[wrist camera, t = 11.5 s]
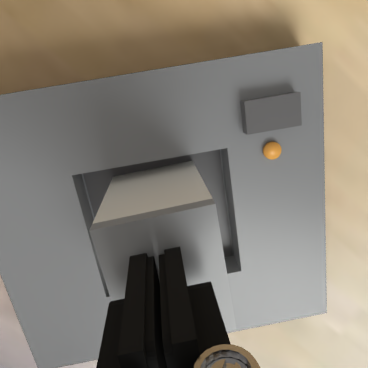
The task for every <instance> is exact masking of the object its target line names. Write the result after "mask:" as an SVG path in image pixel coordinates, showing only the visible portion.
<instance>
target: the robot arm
mask: <svg viewBox="0 0 368 368" xmlns="http://www.w3.org/2000/svg"><path fill="white" fill-rule="evenodd" d="M158 257H159V278H158V273H157V268H156V264H155V259H154V256H151V257H148V255H147V253H144V254H138V255H133V256H130V258H129V266H128V274H127V282H126V290H125V298H124V299H119V300H114V301H111V302H110V303H109V306H108V311H107V316H106V321H105V326H104V331H103V336H102V342H101V347H100V352H99V357H98V362H97V367H96V368H260V366H259V365H258V363H257V361H256V360H255V358H254V357H253V356H252V355H251V354H250V353H249V352H248V351H246V350H245V349H243V348H242V347H239V346H236V345H231V344H230V341H229V338H228V335H227V331H226V328H225V325H224V322H223V318H222V315H221V312H220V309H219V306H218V302H217V299H216V296H215V293H214V289H213V286H212V283H211V281H210V282H205V283H200V284H195V285H190V286H187V282H186V276H185V271H184V265H183V260H182V254H181V249H180V247H175V248H170V249H164V254H162V255H158ZM159 279H160V282H159Z"/></svg>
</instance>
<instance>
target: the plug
mask: <svg viewBox="0 0 368 368" xmlns="http://www.w3.org/2000/svg"><path fill="white" fill-rule="evenodd" d="M89 232H90V235H91V238H92V241H93V244H94V247H95V251H96V254H97V257H98V260H99V263H100V267H101V270H102V273H103V276H104V279H105V282H106V286H107V289H108V292H109V295H110V298H111V301H114V300H119V299H124V298H125V290H126V282H127V274H128V266H129V258H130V256H133V255H138V254H144V253H147V255H148V257H151V256H154V259H155V264H156V268H157V273H158V278H159V257H158V255H162V254H164V249H170V248H175V247H180V249H181V254H182V260H183V265H184V271H185V276H186V282H187V286H190V285H195V284H200V283H205V282H210V281H211V283H212V286H213V289H214V293H215V296H216V299H217V302H218V306H219V309H220V312H221V315H222V318H223V322H224V325H225V328H226V331H227V332H228V331H232V330H237V329H236V323H235V317H234V311H233V305H232V299H231V293H230V287H229V281H228V275H227V269H226V263H225V257H224V251H223V245H222V239H221V233H220V227H219V221H218V215H217V209H216V204H215V202H214V200H213V198H212V196H211V194H210V192H209V191H208V189H207V187H206V185H205V183H204V181H203V179H202V178H201V176H200V174H199V172H198V170H197V168H196V166H195V165H194V163H193V161H188V162H183V163H178V164H173V165H168V166H164V167H159V168H154V169H149V170H144V171H139V172H134V173H130V174H125V175H120V176H115V177H113V178H112V180H111V182H110V185H109V187H108V189H107V192H106V194H105V196H104V198H103V201H102V203H101V205H100V207H99V210H98V212H97V214H96V216H95V219H94V221H93V223H92V225H91V228H90V230H89ZM159 282H160V279H159Z"/></svg>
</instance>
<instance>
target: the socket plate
mask: <svg viewBox="0 0 368 368" xmlns="http://www.w3.org/2000/svg"><path fill="white" fill-rule="evenodd" d="M188 161H193V163H194V165H195V166H196V168H197V170H198V172H199V174H200V176H201V178H202V179H203V181H204V183H205V185H206V187H207V189H208V191H209V192H210V194H211V196H212V198H213V200H214V202H215V204H216V209H217V215H218V221H219V227H220V233H221V239H222V245H223V251H224V257H225V263H226V269H227V275H228V281H229V287H230V293H231V299H232V305H233V311H234V317H235V323H236V329H237V330H232V331H228V332H227V333H230V332H235V331H240V330H245V329H250V328H255V327H260V326H265V325H270V324H275V323H280V322H285V321H290V320H295V319H299V318H304V317H309V316H314V315H319V314H324V313H327V298H326V236H325V174H324V112H323V50H322V42H320V43H314V44H308V45H302V46H296V47H290V48H284V49H278V50H272V51H265V52H259V53H253V54H247V55H241V56H235V57H229V58H223V59H216V60H210V61H204V62H198V63H192V64H186V65H180V66H174V67H168V68H161V69H155V70H149V71H143V72H137V73H131V74H125V75H119V76H113V77H106V78H100V79H94V80H88V81H82V82H76V83H70V84H64V85H57V86H51V87H45V88H39V89H33V90H27V91H21V92H15V93H9V94H2V95H0V275H1V277H2V280H3V282H4V285H5V287H6V290H7V292H8V295H9V297H10V300H11V302H12V305H13V307H14V310H15V312H16V315H17V317H18V320H19V322H20V325H21V327H22V330H23V332H24V335H25V337H26V340H27V342H28V345H29V347H30V350H31V352H32V355H33V357H34V360H35V362H36V365H37V367H38V368H58V367H63V366H68V365H73V364H78V363H83V362H87V361H92V360H97V359H98V357H99V352H100V347H101V342H102V336H103V331H104V326H105V321H106V316H107V311H108V306H109V303H110V302H111V298H110V295H109V292H108V289H107V286H106V282H105V279H104V276H103V273H102V270H101V267H100V263H99V260H98V257H97V254H96V251H95V247H94V244H93V241H92V238H91V235H90V232H89V230H90V228H91V225H92V223H93V221H94V219H95V216H96V214H97V212H98V210H99V207H100V205H101V203H102V201H103V198H104V196H105V194H106V192H107V189H108V187H109V185H110V182H111V180H112V178H113V177H115V176H120V175H125V174H130V173H134V172H139V171H144V170H149V169H154V168H159V167H164V166H168V165H173V164H178V163H183V162H188Z"/></svg>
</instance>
